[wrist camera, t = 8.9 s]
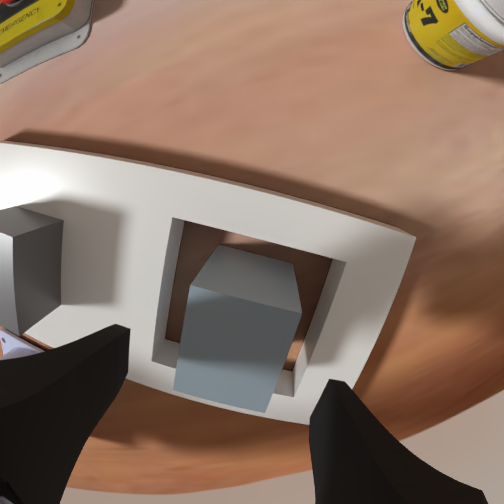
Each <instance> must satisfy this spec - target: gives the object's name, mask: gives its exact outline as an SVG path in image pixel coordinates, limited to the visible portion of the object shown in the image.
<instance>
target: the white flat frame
mask: <svg viewBox="0 0 504 504" xmlns="http://www.w3.org/2000/svg"><path fill="white" fill-rule="evenodd" d="M14 206H17V207H21V208H24V209H27V210H31V211H34V212H38V213H41V214H44V215H48V216H51V217H55V218H58V219H62V220H64V223H63V237H62V256H61V305H60V306H59V307H58V308H56V309H55V310H54V311H52V312H51V313H50V314H48V315H47V316H46V317H44V318H43V319H42V320H40V321H39V322H38V323H36V324H35V325H34V326H32V327H31V328H30V329H28V330H27V331H26V332H24V333H26V334H27V335H29V336H31V337H33V338H35V339H37V340H39V341H41V342H43V343H45V344H47V345H49V346H51V347H53V348H57V347H59V346H62V345H65V344H68V343H71V342H73V341H76V340H78V339H80V338H83V337H85V336H87V335H90V334H92V333H94V332H97V331H99V330H101V329H103V328H106V327H108V326H111V325H113V324H118V325H121V326H124V327H127V328H130V329H131V330H130V345H129V365H128V374H127V376H126V379H128V380H131V381H134V382H137V383H139V384H142V385H145V386H148V387H151V388H154V389H157V390H160V391H163V392H166V393H170V394H173V395H176V396H179V397H183V398H186V399H190V400H193V401H197V402H200V403H204V404H208V405H212V406H216V407H220V408H224V409H228V410H232V411H237V412H241V413H246V414H250V415H255V416H260V417H265V418H270V419H276V420H281V421H287V422H294V423H300V424H307V425H309V422H310V416H311V414H312V412H313V410H314V408H315V406H316V404H317V402H318V400H319V398H320V396H321V394H322V392H323V390H324V388H325V386H326V384H327V382H328V380H329V379H334V380H340V381H345V382H346V383H347V384H348V385H349V387H350V388H351V389H353V387H354V385H355V383H356V381H357V379H358V377H359V375H360V373H361V371H362V369H363V367H364V365H365V363H366V361H367V359H368V357H369V355H370V353H371V351H372V349H373V347H374V344H375V342H376V340H377V338H378V336H379V334H380V331H381V329H382V327H383V325H384V322H385V320H386V318H387V315H388V313H389V310H390V308H391V306H392V303H393V301H394V298H395V296H396V293H397V291H398V288H399V286H400V283H401V280H402V278H403V275H404V272H405V270H406V267H407V264H408V261H409V258H410V255H411V253H412V250H413V247H414V244H415V241H416V237H414V236H413V235H411V234H409V233H407V232H405V231H403V230H401V229H399V228H397V227H394V226H391V225H388V224H385V223H382V222H379V221H376V220H373V219H369V218H366V217H363V216H360V215H357V214H353V213H350V212H347V211H343V210H340V209H337V208H333V207H330V206H326V205H323V204H319V203H316V202H312V201H309V200H305V199H301V198H298V197H294V196H290V195H287V194H283V193H279V192H275V191H272V190H268V189H264V188H260V187H256V186H252V185H248V184H244V183H240V182H236V181H232V180H227V179H223V178H219V177H214V176H210V175H206V174H201V173H197V172H192V171H188V170H183V169H178V168H173V167H169V166H164V165H159V164H154V163H149V162H144V161H138V160H133V159H128V158H122V157H116V156H111V155H105V154H99V153H93V152H87V151H80V150H74V149H67V148H60V147H53V146H46V145H38V144H30V143H22V142H13V141H3V140H0V210H1V209H5V208H9V207H14ZM185 220H186V221H190V222H194V223H198V224H202V225H206V226H210V227H214V228H218V229H222V230H226V231H230V232H233V233H237V234H241V235H245V236H249V237H253V238H257V239H261V240H265V241H268V242H272V243H276V244H280V245H284V246H288V247H291V248H295V249H299V250H303V251H307V252H310V253H314V254H318V255H322V256H326V257H329V258H333V260H332V263H331V266H330V269H329V272H328V275H327V278H326V281H325V284H324V287H323V290H322V293H321V296H320V298H319V301H318V304H317V307H316V310H315V313H314V315H313V318H312V321H311V324H310V326H309V329H308V332H307V334H306V337H305V340H304V342H303V345H302V348H301V350H300V353H299V355H298V358H297V360H296V363H295V366H294V368H293V371H288V370H283V369H282V371H281V374H280V376H279V379H278V381H277V384H276V387H275V389H274V392H273V394H272V397H271V399H270V402H269V404H268V407H267V409H266V412H265V413H262V412H257V411H253V410H248V409H243V408H239V407H234V406H230V405H226V404H222V403H218V402H214V401H210V400H206V399H203V398H199V397H195V396H192V395H188V394H185V393H181V392H178V391H175V390H173V386H174V379H175V372H176V366H177V359H178V353H179V346H180V343H177V342H173V341H170V340H167V339H165V334H166V327H167V320H168V314H169V307H170V300H171V294H172V288H173V282H174V276H175V270H176V265H177V259H178V253H179V248H180V243H181V237H182V232H183V227H184V222H185Z"/></svg>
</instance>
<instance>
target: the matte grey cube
mask: <svg viewBox="0 0 504 504" xmlns="http://www.w3.org/2000/svg"><path fill="white" fill-rule="evenodd" d="M63 223H64V220H62V219H58V218H55V217H51V216H48V215H44V214H41V213H38V212H34V211H31V210H27V209H24V208H21V207H17V206H14V207H9V208H5V209H1V210H0V325H1V326H2V327H4V328H6V329H7V330H9V331H11V332H12V333H14V334H16V335H18V336H21V335H22V334H23V333H24V332H26V331H27V330H28V329H30V328H31V327H32V326H34V325H35V324H36V323H38V322H39V321H40V320H42V319H43V318H44V317H46V316H47V315H48V314H50V313H51V312H52V311H54V310H55V309H56V308H58V307H59V306H60V305H61V256H62V237H63Z"/></svg>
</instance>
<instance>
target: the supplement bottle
mask: <svg viewBox="0 0 504 504" xmlns="http://www.w3.org/2000/svg"><path fill="white" fill-rule="evenodd" d="M403 29H404V33H405V35H406V38H407V40H408V42H409V43H410V45H411V46H412V48H413V49H414V50H415V52H416V53H417V54H418V55H419V56H420V57H422V58H423V59H424V60H425V61H427V62H428V63H430V64H431V65H433V66H435V67H438V68H440V69H444V70H457V69H460V68H462V67H465V66H467V65H469V64H472V63H474V62H476V61H479V60H481V59H483V58H485V57H488V56H490V55H493V54H495V53H497V52H500V51H502V50H504V0H413V1H412V2H411V3H410V4H409V6H408V7H407V8H406V10H405V12H404V14H403Z"/></svg>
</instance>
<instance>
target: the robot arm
mask: <svg viewBox="0 0 504 504" xmlns="http://www.w3.org/2000/svg"><path fill="white" fill-rule="evenodd" d="M130 330H131V329H130V328H127V327H124V326H121V325H118V324H113V325H111V326H108V327H106V328H103V329H101V330H99V331H97V332H94V333H92V334H90V335H87V336H85V337H83V338H80V339H78V340H76V341H73V342H71V343H68V344H65V345H62V346H59V347H57V348H54V349H51V350H48V351H43V350H42V349H40V348H38V347H36V346H34V345H32V344H30V343H28V342H26V341H25V340H23V339H21V338H19V337H17V336H16V335H14V334H12V333H10V332H9V331H7V330H5V329H1V330H0V339H1V344H2V349H3V354H4V356H3V357H1V358H0V504H60V501H61V498H62V495H63V493H64V490H65V487H66V485H67V482H68V479H69V477H70V475H71V472H72V470H73V468H74V466H75V463H76V461H77V459H78V457H79V455H80V453H81V451H82V449H83V446H84V444H85V442H86V441H87V439H88V437H89V436H90V434H91V432H92V431H93V429H94V428H95V426H96V425H97V424H98V422H99V421H100V419H101V418H102V416H103V415H104V413H105V412H106V410H107V409H108V407H109V406H110V404H111V403H112V401H113V400H114V398H115V397H116V395H117V394H118V392H119V390H120V388H121V386H122V384H123V382H124V380H125V378H126V376H127V374H128V365H129V345H130ZM309 444H310V452H311V461H312V469H313V476H314V485H315V497H316V503H315V504H488V502H487V500H486V498H485V496H484V493H483V492H482V490H479V489H476V488H474V487H471V486H469V485H466V484H464V483H461V482H459V481H457V480H454V479H453V478H451V477H449V476H447V475H445V474H443V473H441V472H439V471H438V470H436V469H434V468H433V467H431V466H430V465H428V464H427V463H425V462H424V461H422V460H421V459H419V458H418V457H417V456H416V455H414V454H413V453H412V452H410V451H409V450H408V449H407V448H406V447H405V446H403V445H402V444H401V443H400V442H399V441H398V440H397V439H396V438H394V437H393V436H392V435H391V434H390V433H389V431H388V430H387V429H386V428H385V427H384V426H383V425H382V424H381V423H380V422H379V421H378V420H377V419H376V418H375V416H374V415H373V414H372V413H371V412H370V411H369V409H368V408H367V407H366V406H365V405H364V403H363V402H362V401H361V400H360V399H359V397H358V396H357V395H356V394H355V393H354V391H353V390H352V389H351V388H350V387H349V385H348V384H347V383H346V382H345V381H340V380H334V379H329V380H328V382H327V384H326V386H325V388H324V390H323V392H322V394H321V396H320V398H319V400H318V402H317V404H316V406H315V408H314V410H313V412H312V414H311V416H310V422H309Z"/></svg>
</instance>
